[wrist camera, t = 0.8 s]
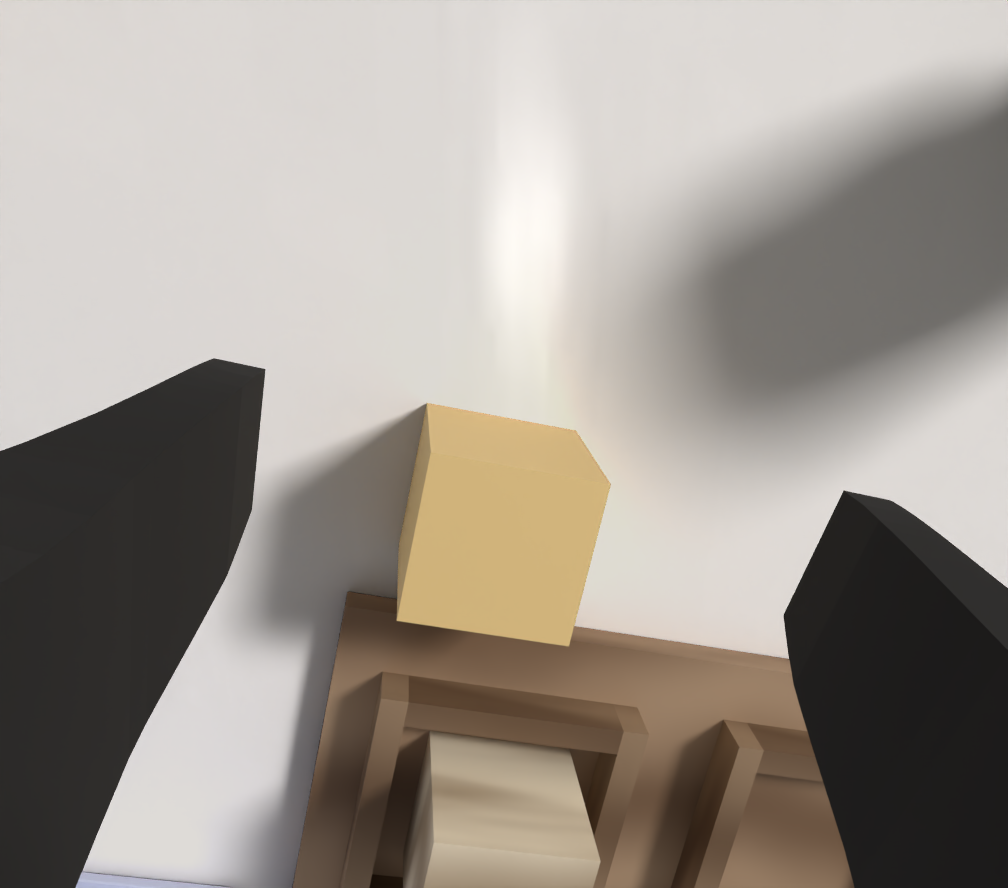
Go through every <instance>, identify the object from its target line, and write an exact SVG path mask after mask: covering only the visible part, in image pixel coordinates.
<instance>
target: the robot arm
mask: <svg viewBox="0 0 1008 888" xmlns="http://www.w3.org/2000/svg"><path fill="white" fill-rule="evenodd" d="M264 378H265V369H262V368H257V367H252V366H248V365H243V364H238V363H233V362H228V361H224V360H219V359H211V360H209V361H206V362H204V363H201V364H199V365H197V366H195V367H192V368H190V369H188V370H186V371H184V372H182V373H180V374H178V375H176V376H174V377H171V378H169V379H167V380H165V381H163V382H161V383H159V384H157V385H155V386H153V387H151V388H149V389H147V390H145V391H143V392H140V393H138V394H136V395H134V396H132V397H130V398H128V399H125V400H123V401H121V402H119V403H117V404H115V405H113V406H111V407H108V408H106V409H104V410H102V411H100V412H98V413H95V414H93V415H90V416H88V417H86V418H83V419H81V420H78V421H76V422H73V423H71V424H68V425H66V426H64V427H61V428H59V429H56V430H54V431H51V432H49V433H46V434H44V435H42V436H39V437H37V438H34V439H32V440H29V441H27V442H24V443H22V444H19V445H16V446H13V447H11V448H8V449H5V450H2V451H0V888H231V887H222V886H212V885H202V884H192V883H182V882H173V881H163V880H153V879H143V878H134V877H124V876H114V875H104V874H94V873H85V872H82V870H83V868H84V865H85V863H86V860H87V858H88V855H89V853H90V850H91V848H92V845H93V843H94V840H95V838H96V835H97V833H98V831H99V828H100V826H101V823H102V821H103V819H104V816H105V814H106V812H107V809H108V807H109V804H110V802H111V800H112V797H113V795H114V792H115V790H116V788H117V785H118V783H119V781H120V778H121V776H122V773H123V771H124V769H125V766H126V764H127V761H128V759H129V757H130V755H131V753H132V751H133V749H134V747H135V745H136V743H137V741H138V739H139V737H140V735H141V733H142V731H143V729H144V727H145V725H146V723H147V721H148V719H149V717H150V715H151V714H152V712H153V710H154V708H155V706H156V704H157V703H158V701H159V699H160V697H161V695H162V694H163V692H164V690H165V688H166V686H167V685H168V683H169V681H170V679H171V677H172V675H173V674H174V672H175V670H176V668H177V666H178V665H179V663H180V661H181V659H182V657H183V656H184V654H185V652H186V650H187V648H188V646H189V645H190V643H191V641H192V639H193V637H194V636H195V634H196V632H197V630H198V628H199V627H200V625H201V623H202V621H203V619H204V617H205V616H206V614H207V612H208V610H209V608H210V606H211V604H212V603H213V601H214V599H215V597H216V595H217V593H218V592H219V590H220V588H221V586H222V584H223V582H224V580H225V578H226V576H227V574H228V571H229V569H230V566H231V564H232V561H233V559H234V556H235V554H236V551H237V548H238V546H239V543H240V540H241V538H242V535H243V532H244V530H245V527H246V524H247V521H248V519H249V516H250V513H251V511H252V502H253V492H254V482H255V471H256V461H257V450H258V440H259V430H260V419H261V409H262V398H263V388H264ZM784 623H785V631H786V639H787V646H788V654H789V660H790V666H791V672H792V678H793V684H794V688H795V691H796V695H797V698H798V702H799V705H800V709H801V712H802V715H803V719H804V722H805V725H806V729H807V732H808V735H809V738H810V742H811V745H812V748H813V751H814V754H815V758H816V761H817V764H818V767H819V770H820V774H821V777H822V780H823V783H824V786H825V789H826V793H827V796H828V799H829V802H830V805H831V808H832V812H833V815H834V818H835V821H836V824H837V828H838V831H839V834H840V837H841V840H842V843H843V847H844V850H845V854H846V857H847V861H848V865H849V869H850V872H851V876H852V880H853V884H854V888H1008V588H1007V587H1005V586H1004V585H1003V584H1002V583H1000V582H999V581H998V580H997V579H995V578H994V577H993V576H992V575H990V574H989V573H988V572H987V571H985V570H984V569H983V568H982V567H980V566H979V565H978V564H977V563H975V562H974V561H973V560H972V559H970V558H969V557H968V556H967V555H965V554H964V553H963V552H962V551H960V550H959V549H958V548H957V547H955V546H954V545H953V544H952V543H950V542H949V541H948V540H946V539H945V538H944V537H943V536H941V535H940V534H939V533H937V532H936V531H935V530H933V529H932V528H931V527H929V526H928V525H927V524H925V523H924V522H923V521H921V520H920V519H919V518H917V517H916V516H914V515H913V514H911V513H910V512H908V511H907V510H905V509H904V508H902V507H901V506H899V505H897V504H896V503H894V502H892V501H890V500H886V499H881V498H876V497H871V496H867V495H862V494H857V493H852V492H848V491H843V493H842V495H841V498H840V500H839V502H838V504H837V506H836V508H835V510H834V512H833V514H832V516H831V518H830V520H829V522H828V524H827V526H826V529H825V531H824V533H823V535H822V537H821V539H820V541H819V543H818V545H817V547H816V549H815V551H814V553H813V555H812V557H811V560H810V562H809V564H808V566H807V568H806V570H805V572H804V574H803V576H802V578H801V580H800V582H799V584H798V586H797V588H796V591H795V593H794V595H793V597H792V599H791V601H790V603H789V605H788V607H787V609H786V611H785V613H784Z"/></svg>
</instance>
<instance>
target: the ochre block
mask: <svg viewBox="0 0 1008 888" xmlns="http://www.w3.org/2000/svg"><path fill="white" fill-rule="evenodd" d="M610 485H611V484H610V482H609V481H608V479H607V478H606V476H605V475H604V473H603V472H602V470H601V469H600V467H599V465H598V464H597V462H596V461H595V459H594V458H593V456H592V455H591V453H590V452H589V450H588V448H587V447H586V445H585V444H584V442H583V441H582V439H581V438H580V436H579V435H578V433H577V431H575V430H570V429H564V428H559V427H553V426H548V425H543V424H537V423H532V422H527V421H521V420H516V419H510V418H505V417H500V416H494V415H489V414H484V413H478V412H473V411H467V410H462V409H457V408H451V407H446V406H441V405H435V404H430V403H427V405H426V410H425V415H424V420H423V425H422V431H421V436H420V441H419V446H418V451H417V456H416V461H415V466H414V471H413V476H412V481H411V486H410V491H409V496H408V501H407V506H406V511H405V516H404V521H403V526H402V531H401V536H400V541H399V554H398V591H397V621H401V622H408V623H415V624H421V625H428V626H435V627H441V628H448V629H455V630H462V631H468V632H475V633H482V634H489V635H495V636H502V637H509V638H515V639H522V640H529V641H536V642H542V643H549V644H556V645H563V646H569V644H570V640H571V636H572V632H573V628H574V625H575V621H576V617H577V613H578V609H579V605H580V601H581V597H582V594H583V590H584V586H585V582H586V578H587V574H588V570H589V567H590V563H591V559H592V555H593V551H594V547H595V543H596V539H597V536H598V532H599V528H600V524H601V520H602V516H603V512H604V508H605V505H606V501H607V497H608V493H609V489H610Z"/></svg>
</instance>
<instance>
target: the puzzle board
mask: <svg viewBox="0 0 1008 888" xmlns="http://www.w3.org/2000/svg"><path fill="white" fill-rule="evenodd" d="M293 888H854V884H853V880H852V876H851V872H850V869H849V865H848V861H847V857H846V854H845V850H844V847H843V843H842V840H841V837H840V834H839V831H838V828H837V824H836V821H835V818H834V815H833V812H832V808H831V805H830V802H829V799H828V796H827V793H826V789H825V786H824V783H823V780H822V777H821V774H820V770H819V767H818V764H817V761H816V758H815V754H814V751H813V748H812V745H811V742H810V738H809V735H808V732H807V729H806V725H805V722H804V719H803V715H802V712H801V709H800V705H799V702H798V698H797V695H796V691H795V688H794V684H793V678H792V672H791V666H790V660H789V659H785V658H778V657H772V656H765V655H759V654H752V653H745V652H739V651H732V650H726V649H719V648H713V647H706V646H700V645H693V644H687V643H680V642H674V641H667V640H660V639H654V638H647V637H641V636H634V635H628V634H621V633H615V632H608V631H602V630H595V629H589V628H582V627H575V626H574V628H573V632H572V636H571V640H570V644H569V646H563V645H556V644H549V643H542V642H536V641H529V640H522V639H515V638H509V637H502V636H495V635H489V634H482V633H475V632H468V631H462V630H455V629H448V628H441V627H435V626H428V625H421V624H415V623H408V622H401V621H397V599H392V598H386V597H379V596H373V595H366V594H360V593H353V592H347V598H346V603H345V609H344V614H343V619H342V625H341V630H340V635H339V641H338V646H337V651H336V657H335V662H334V668H333V673H332V678H331V684H330V689H329V694H328V700H327V705H326V710H325V716H324V721H323V727H322V732H321V737H320V743H319V748H318V753H317V759H316V764H315V770H314V775H313V780H312V786H311V791H310V796H309V802H308V807H307V812H306V818H305V823H304V829H303V834H302V839H301V845H300V850H299V855H298V861H297V866H296V872H295V877H294V882H293Z"/></svg>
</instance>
